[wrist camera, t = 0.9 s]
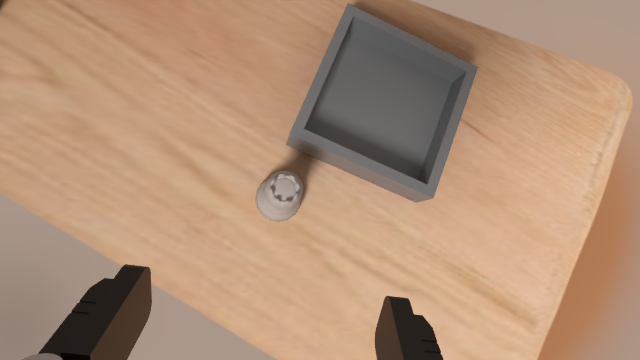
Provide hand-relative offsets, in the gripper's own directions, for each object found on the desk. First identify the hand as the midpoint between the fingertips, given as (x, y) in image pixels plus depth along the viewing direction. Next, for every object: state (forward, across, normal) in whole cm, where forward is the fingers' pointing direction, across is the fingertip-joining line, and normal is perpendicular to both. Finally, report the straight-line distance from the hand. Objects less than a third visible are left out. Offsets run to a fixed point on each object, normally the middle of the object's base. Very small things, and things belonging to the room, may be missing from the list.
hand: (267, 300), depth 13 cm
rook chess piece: (+24, +1, +9) cm, 26 cm away
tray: (+31, -8, +1) cm, 32 cm away
